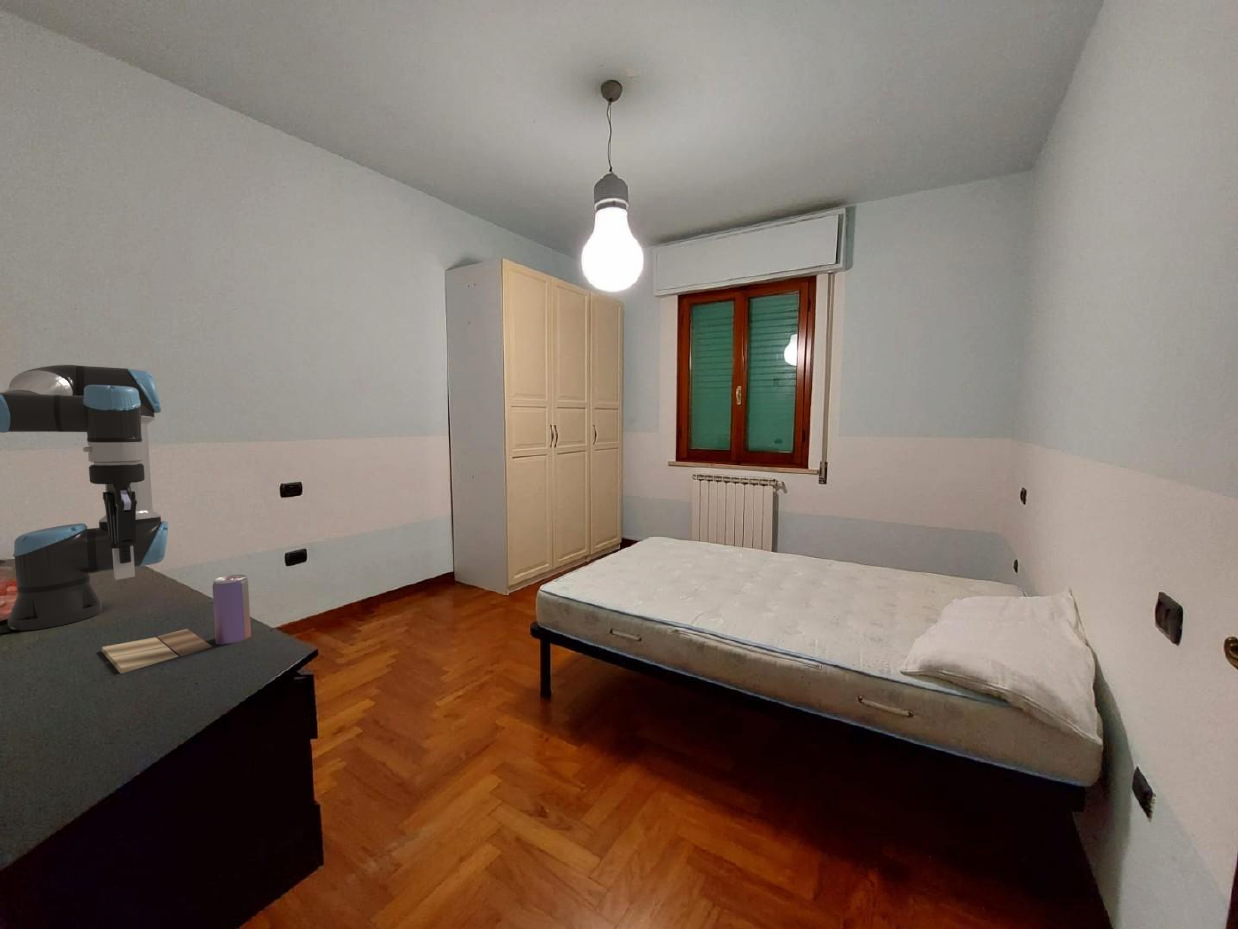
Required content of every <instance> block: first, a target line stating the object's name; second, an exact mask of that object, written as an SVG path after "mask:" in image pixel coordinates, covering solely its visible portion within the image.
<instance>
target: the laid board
mask: <svg viewBox="0 0 1238 929" xmlns="http://www.w3.org/2000/svg"><path fill="white" fill-rule="evenodd" d="M156 638H157V639H158V640H160V641H161V642H162V643H163V644H165V645H166V646H167V647H168V648H169V649H171V650H172V651H173V652H174V653H175V654H177V655H178V656H180V657H183V656H187V655H189V654H193V653H196V652H200V651H203V650H207V649H210V648H213V646H212V645H211V644H209V643H208V642H207V641H205V640H204V639H202V638H201V637H199V636H198V635H197V634H196V633H194V632H193V631H191V630H190V629H189V628H185V629H180V630H177V631H172V632H169V633H164V634H162V635H161V634H160V635H157V637H156Z"/></svg>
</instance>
